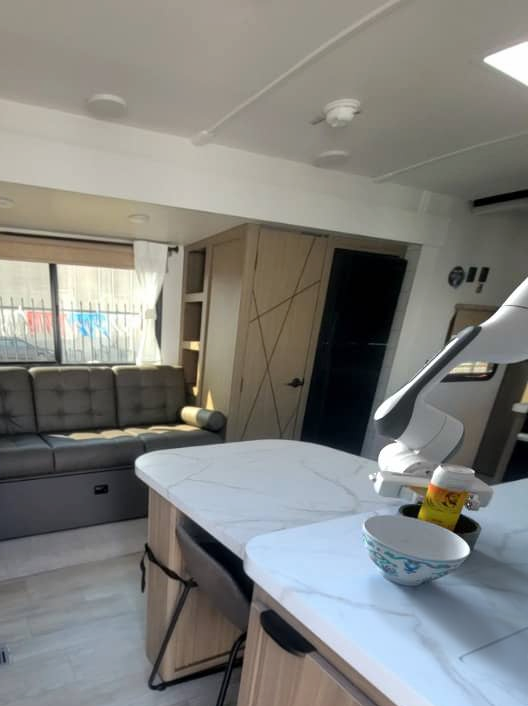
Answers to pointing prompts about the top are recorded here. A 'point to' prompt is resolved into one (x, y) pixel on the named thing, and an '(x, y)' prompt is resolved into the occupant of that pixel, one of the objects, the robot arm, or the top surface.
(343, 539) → the top surface
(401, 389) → the robot arm
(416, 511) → the dark green bowl
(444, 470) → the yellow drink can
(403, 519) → the chinaware
